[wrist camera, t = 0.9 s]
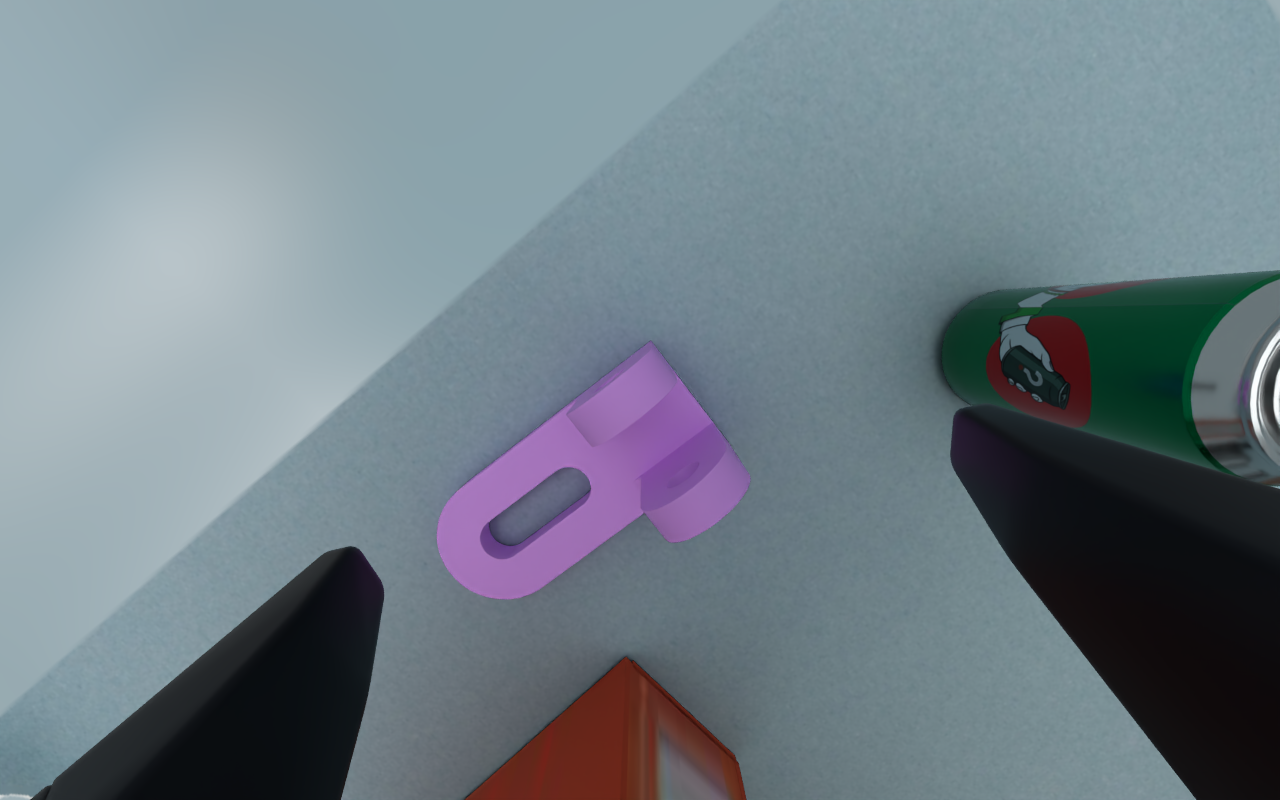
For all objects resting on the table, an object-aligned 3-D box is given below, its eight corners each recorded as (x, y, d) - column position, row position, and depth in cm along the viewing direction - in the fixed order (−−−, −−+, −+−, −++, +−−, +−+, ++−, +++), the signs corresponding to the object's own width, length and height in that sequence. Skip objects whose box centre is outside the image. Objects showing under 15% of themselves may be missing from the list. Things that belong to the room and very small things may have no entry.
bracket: (650, 340, 23) (653, 350, 16) (727, 440, 24) (760, 491, 17) (423, 515, 25) (337, 592, 18) (501, 606, 25) (448, 715, 18)
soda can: (986, 431, 24) (1326, 548, 12) (909, 351, 23) (1184, 389, 11) (1077, 348, 23) (1530, 384, 11) (1000, 264, 23) (1389, 209, 11)
